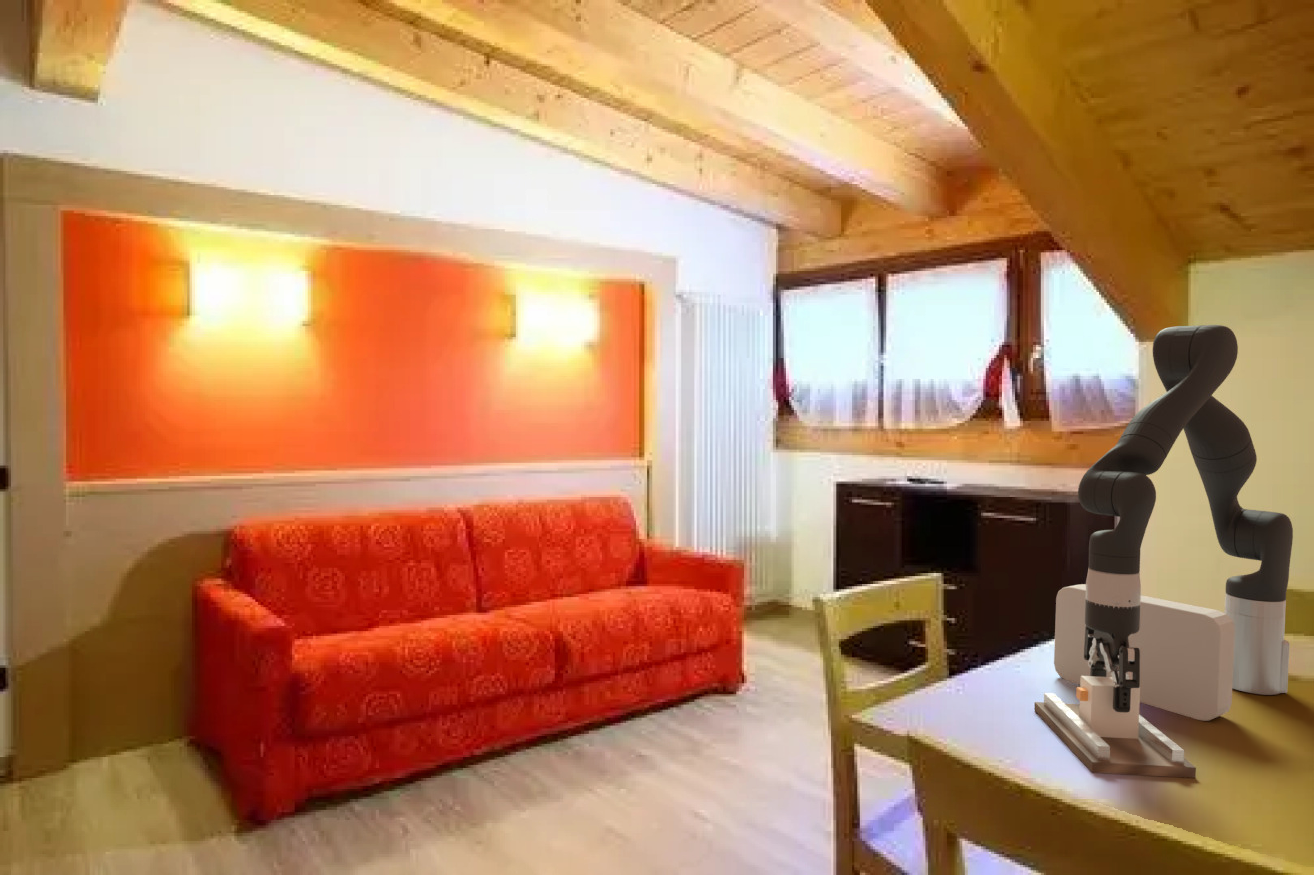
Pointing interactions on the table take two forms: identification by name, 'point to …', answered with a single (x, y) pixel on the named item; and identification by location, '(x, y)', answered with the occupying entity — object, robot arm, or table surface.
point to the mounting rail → (1098, 744)
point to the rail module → (1107, 708)
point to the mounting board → (1117, 752)
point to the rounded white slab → (1160, 653)
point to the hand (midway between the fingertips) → (1109, 701)
